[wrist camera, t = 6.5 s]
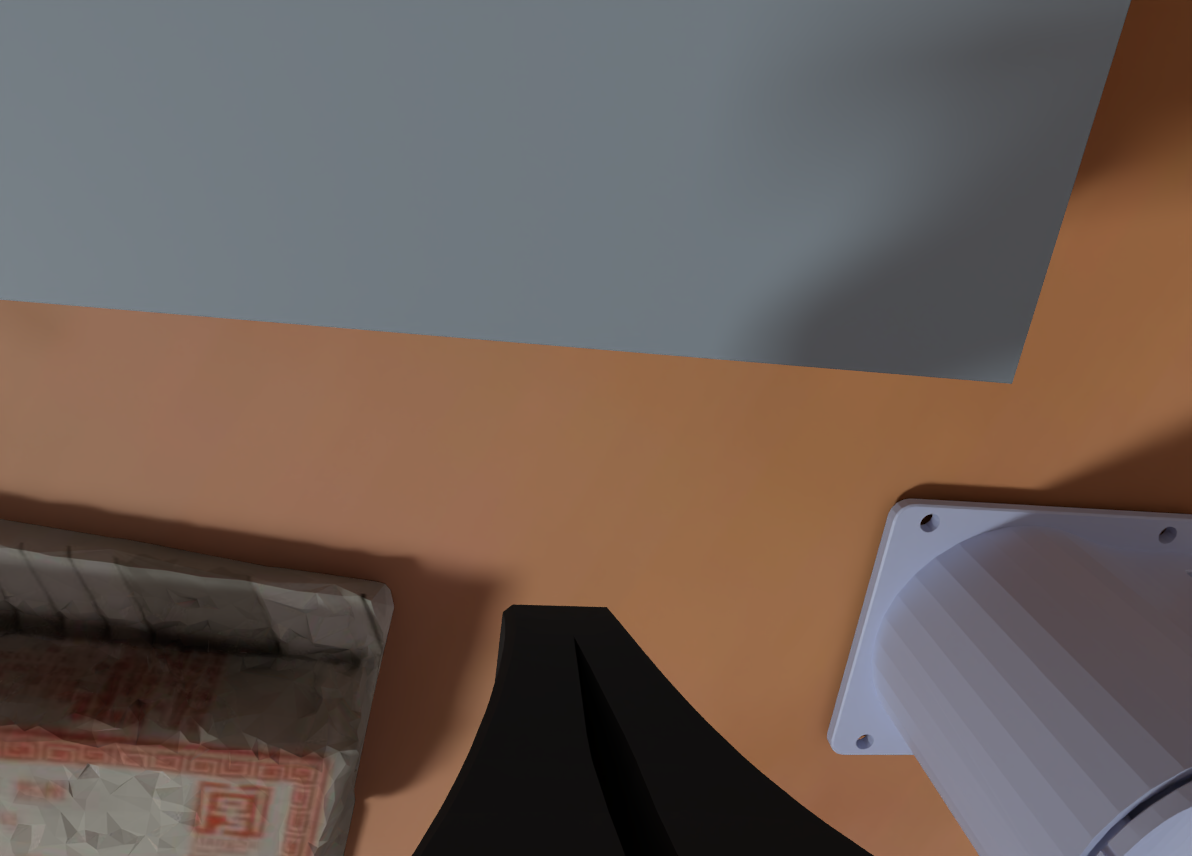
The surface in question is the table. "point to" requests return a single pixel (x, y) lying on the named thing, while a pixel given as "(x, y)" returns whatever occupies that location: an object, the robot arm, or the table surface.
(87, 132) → the lid
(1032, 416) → the table surface
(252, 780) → the packaged product
